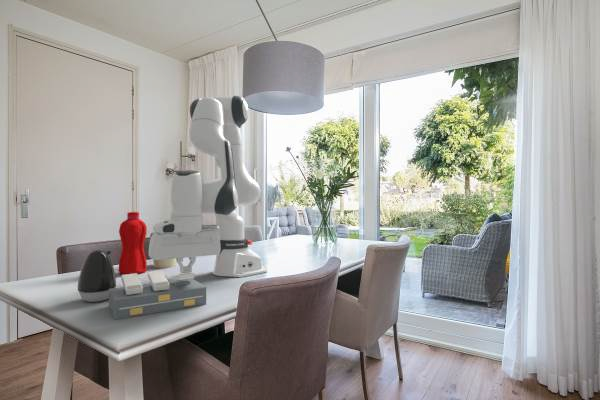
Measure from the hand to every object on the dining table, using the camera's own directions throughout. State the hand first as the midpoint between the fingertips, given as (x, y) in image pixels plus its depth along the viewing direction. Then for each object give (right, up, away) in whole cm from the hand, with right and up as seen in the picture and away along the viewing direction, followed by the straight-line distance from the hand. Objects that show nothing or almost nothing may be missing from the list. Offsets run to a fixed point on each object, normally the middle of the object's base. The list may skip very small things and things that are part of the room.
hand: (185, 272), depth 103 cm
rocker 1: (-13, -2, -5) cm, 14 cm away
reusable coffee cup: (-27, -9, +55) cm, 62 cm away
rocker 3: (-2, -2, +3) cm, 4 cm away
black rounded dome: (-28, -9, +4) cm, 30 cm away
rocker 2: (-8, -2, -1) cm, 8 cm away
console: (-8, -9, -1) cm, 12 cm away
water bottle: (-36, -9, +41) cm, 55 cm away
